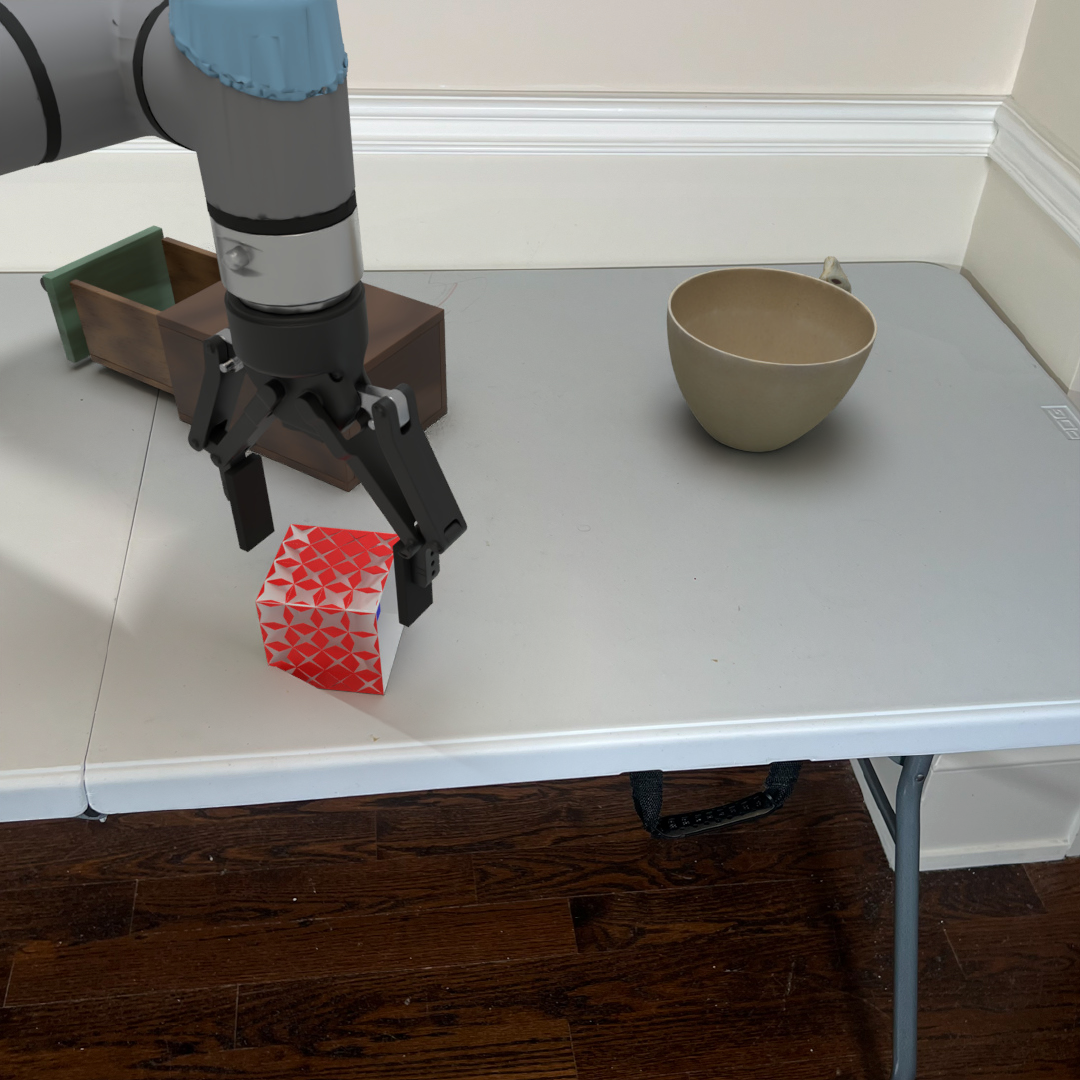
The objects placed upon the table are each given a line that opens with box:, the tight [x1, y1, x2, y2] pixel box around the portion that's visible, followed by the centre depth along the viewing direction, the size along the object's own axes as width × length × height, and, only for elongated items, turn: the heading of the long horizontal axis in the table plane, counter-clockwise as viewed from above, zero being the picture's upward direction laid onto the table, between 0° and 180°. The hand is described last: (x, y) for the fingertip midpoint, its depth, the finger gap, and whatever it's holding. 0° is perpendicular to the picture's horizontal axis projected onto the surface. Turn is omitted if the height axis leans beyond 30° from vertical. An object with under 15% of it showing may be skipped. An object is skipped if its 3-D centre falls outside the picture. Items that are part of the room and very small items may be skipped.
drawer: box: [39, 225, 221, 396], centre depth 100 cm, size 24×14×9 cm, turn 59°
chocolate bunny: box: [818, 255, 852, 294], centre depth 107 cm, size 6×8×10 cm
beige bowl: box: [666, 266, 878, 453], centre depth 94 cm, size 18×18×12 cm
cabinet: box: [156, 281, 448, 492], centre depth 93 cm, size 20×15×11 cm
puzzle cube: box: [254, 523, 405, 696], centre depth 72 cm, size 8×8×8 cm
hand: (334, 575), depth 69 cm, fingers open, 13 cm apart
